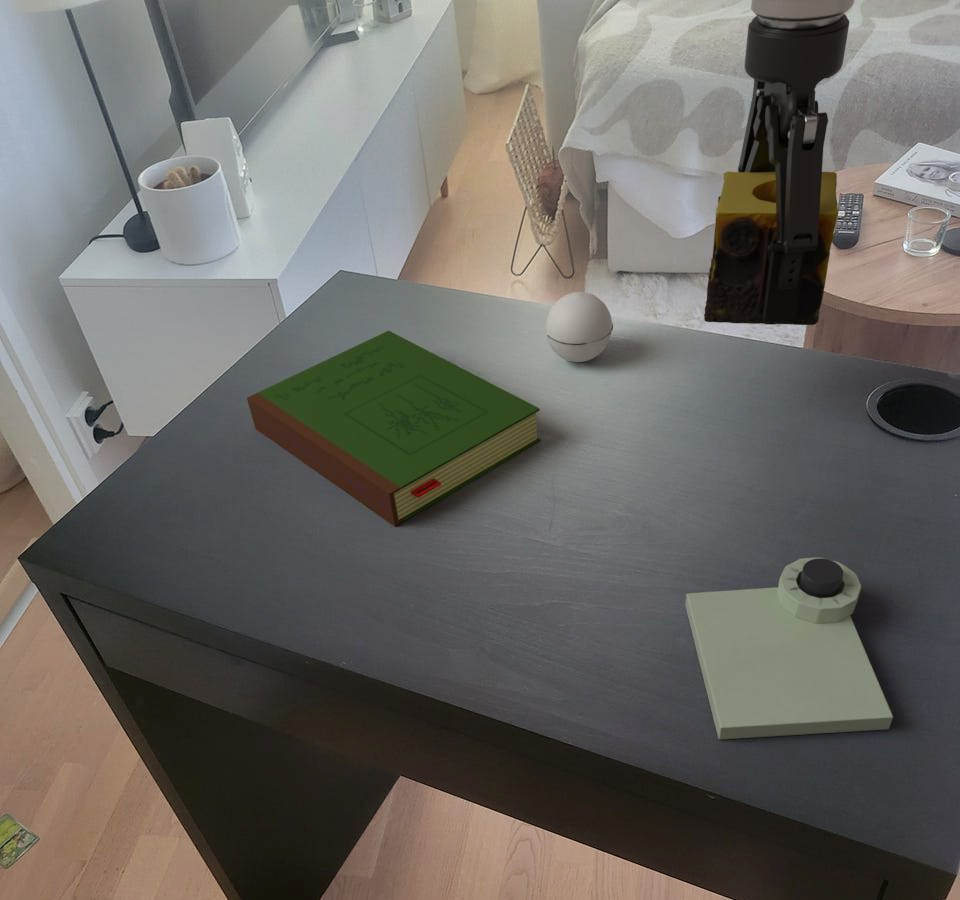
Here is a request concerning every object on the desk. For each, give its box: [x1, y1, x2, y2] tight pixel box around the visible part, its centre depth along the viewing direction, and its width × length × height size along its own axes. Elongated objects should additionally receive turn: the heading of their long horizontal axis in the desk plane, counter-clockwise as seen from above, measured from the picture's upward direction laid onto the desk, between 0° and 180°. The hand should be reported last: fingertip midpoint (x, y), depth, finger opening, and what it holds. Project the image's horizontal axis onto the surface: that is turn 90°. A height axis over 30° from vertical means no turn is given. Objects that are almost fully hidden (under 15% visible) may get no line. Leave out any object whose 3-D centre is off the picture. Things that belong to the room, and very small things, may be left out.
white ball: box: [544, 291, 632, 363], centre depth 103 cm, size 10×7×7 cm
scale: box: [684, 557, 894, 740], centre depth 72 cm, size 13×15×3 cm
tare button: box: [799, 557, 843, 598], centre depth 74 cm, size 3×3×2 cm
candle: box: [703, 171, 839, 326], centre depth 86 cm, size 10×10×10 cm
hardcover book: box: [246, 330, 541, 527], centre depth 97 cm, size 25×19×4 cm
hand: (763, 289), depth 89 cm, fingers closed on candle, 11 cm apart
